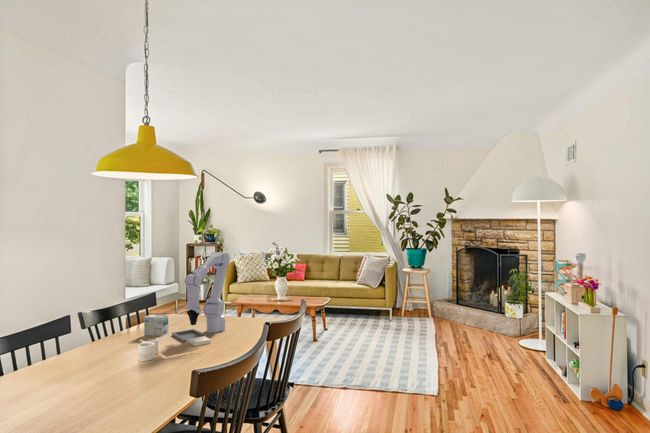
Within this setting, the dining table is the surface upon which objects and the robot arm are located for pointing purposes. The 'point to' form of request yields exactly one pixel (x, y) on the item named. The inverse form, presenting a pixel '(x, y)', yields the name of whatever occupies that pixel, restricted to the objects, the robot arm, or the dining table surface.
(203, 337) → the cover plate
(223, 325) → the robot arm
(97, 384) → the dining table surface
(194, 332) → the open box
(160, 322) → the light bulb box
